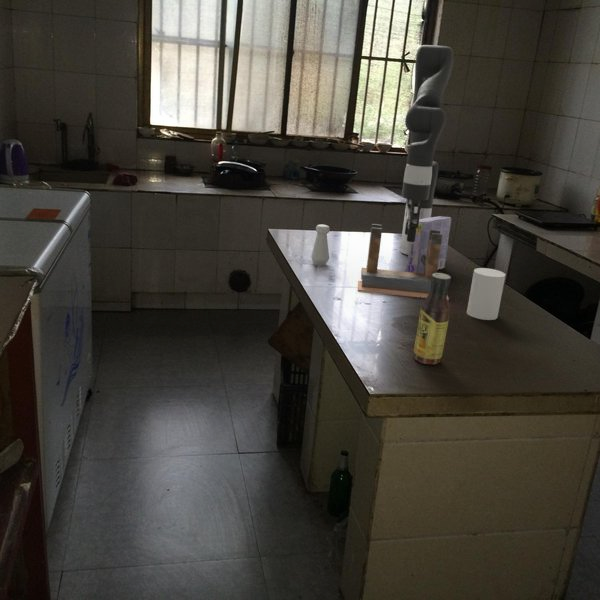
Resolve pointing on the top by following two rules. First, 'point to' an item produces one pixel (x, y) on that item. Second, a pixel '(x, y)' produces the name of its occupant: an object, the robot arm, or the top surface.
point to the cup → (485, 293)
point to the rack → (372, 265)
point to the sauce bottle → (433, 321)
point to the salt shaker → (321, 246)
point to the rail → (396, 282)
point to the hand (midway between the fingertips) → (409, 238)
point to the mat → (391, 291)
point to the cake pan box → (421, 243)
